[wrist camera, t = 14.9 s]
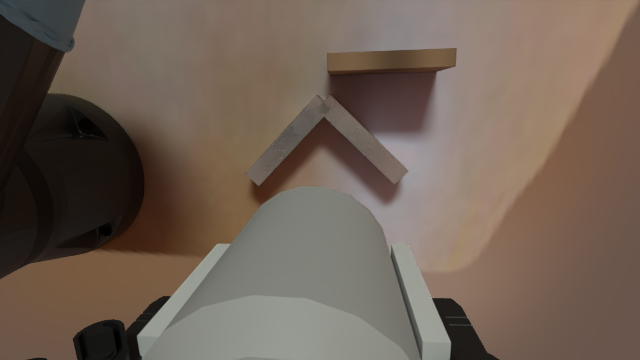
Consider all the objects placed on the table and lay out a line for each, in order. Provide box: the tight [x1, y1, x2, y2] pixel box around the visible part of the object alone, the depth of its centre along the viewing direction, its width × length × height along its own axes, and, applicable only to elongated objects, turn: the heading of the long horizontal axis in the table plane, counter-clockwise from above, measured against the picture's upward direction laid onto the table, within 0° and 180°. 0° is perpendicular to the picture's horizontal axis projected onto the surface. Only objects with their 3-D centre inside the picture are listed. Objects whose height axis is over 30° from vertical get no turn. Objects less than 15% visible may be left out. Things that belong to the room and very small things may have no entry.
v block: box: [245, 95, 408, 186], centre depth 30 cm, size 14×8×2 cm, turn 92°
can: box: [142, 186, 421, 360], centre depth 12 cm, size 8×8×12 cm
